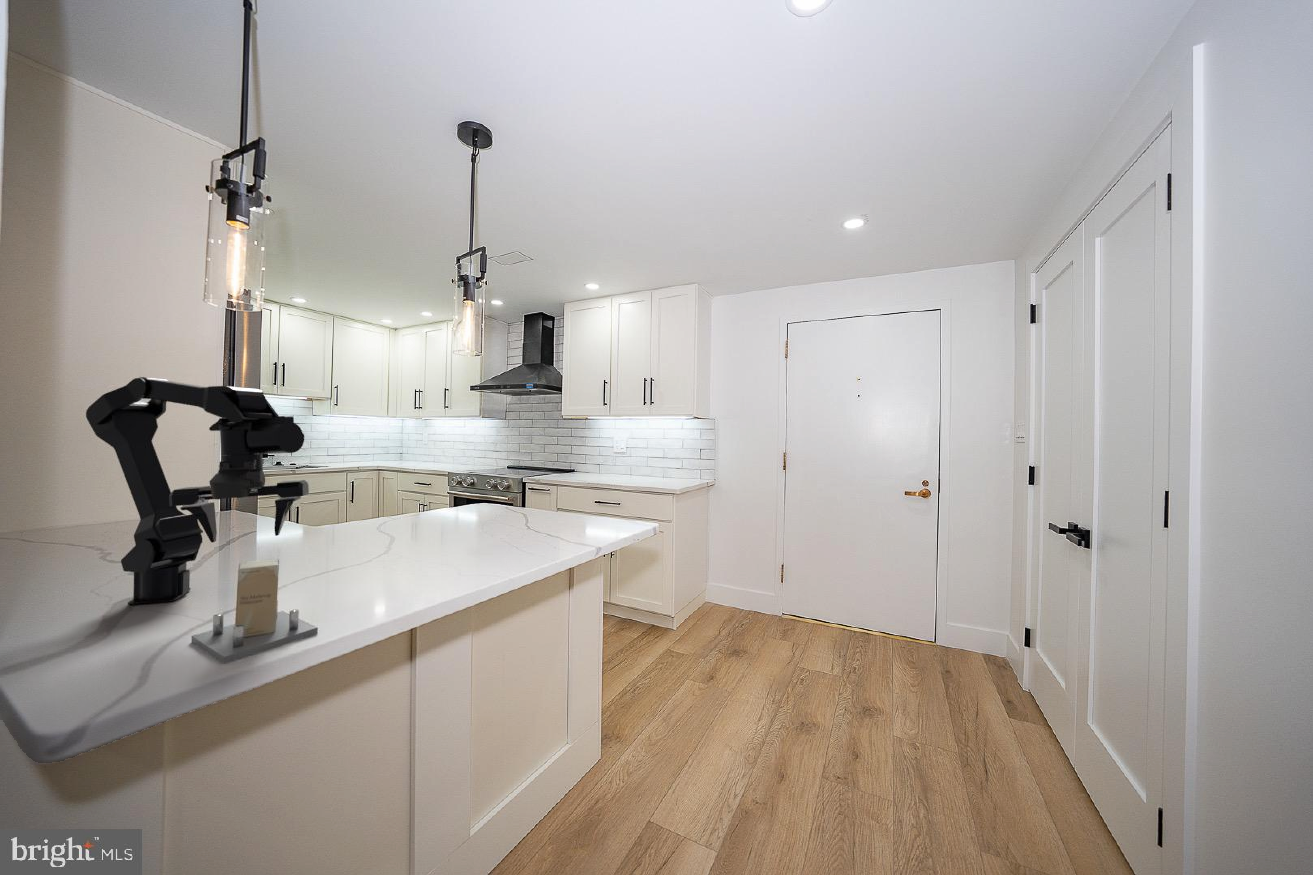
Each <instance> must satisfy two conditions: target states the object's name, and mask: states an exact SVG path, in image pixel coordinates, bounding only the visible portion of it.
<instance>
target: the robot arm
mask: <svg viewBox="0 0 1313 875" xmlns="http://www.w3.org/2000/svg"><path fill="white" fill-rule="evenodd" d="M266 398H267V397H266V396H265V395H264V392H263V391H262V390H261V389H259V388H253V387H240V386H230V385H227V386H226V385H214V386H213V385H211V386H209V385H208V386H201V385H197V384H195V385H194V384H190V383H189V384H188V383H182V382H176V381H170V380H168V379H166V378H159V377H158V378H156V377H146V376H145V377H144V376H139V377H135V378H133V379H132V380H130V381H129V382H128V383H127V384H126V385H123V386H122V387H119V388H116V389H114V390H111V391H108V392H106V393H104V394H102V395H101V396H100V397H98V398H97V399H96V400H95V401H94V402H93V403H92V404H90V405H89V406H88V408H87V409H86V412H85V417H86V419H87V421H88V424H89V426H90V427H91V429H92V431H93V432H94V434H95V435H96V436H97V438H98V439H100V440H102V441H104V443H106V444H108V445H109V446H110V447H112V448H113V449H114V451H115V454H116V457H117V459H118V462H119V464H120V465H119V466H120V468H121V470H122V473H123V477H125V481H126V484H127V487H128V488H129V492H130V494H131V496H132V499H133V502H134V506H135V507H136V509H137V510H136V511H137V513H138V516H139V519H140V520H139V522H138V525H137V528H136V529H135V532H134V534H133V538H134V539H133V540H134V543H135V545H134V546H133V547H132V548H131V550H130V551H128V552H127V553H126V554H125V555H124V556H123V558H122V559H120V563H121V567H122V570H123V572H128V573H133V597H132V599H130V600H129V601H127V605H128V606H131V605H132V606H133V605H144V604H155V603H156V604H157V603H166V602H170V603H171V602H174V601H176V600H178V599H179V598H181V597H182V596H184V595H186V594H187V593H188V592H189V591H191V587H190V580H191V579H190V578H191V577H190V576H191V571H190V569H187V563H188V562H194V561H196V559H197V556H198V554H199V550H200V548H201V545H202V544H203V536H202V534H203V533H204V532H205V534H206V536H207V538H208V539H209V542H211V543H216V541H217V537H218V536H217V533H218V532H217V522H216V521H217V520H216V508H215V502H213V501H212V502H209V501H210V500H223V499H233V498H234V499H235V498H236V499H243V498H247V497H248V498H249V497H260V496H261V497H262V496H275V495H276V496H278V499H275V500H274V504H275V505H274V506H275V518H274V536H279V535H280V533H281V531H282V528H283V526H284V523H285V521H286V517H287V515H288V513H289V511H290V509H291V507H292V505H293V504H294V502H296V501H298V500H300V499H301V498H302V497H303V496H307V495H308V494H309V493H310V491H309V490H310V488H309V482H307V481H306V480H305V479H300V480H296V479H295V480H282V481H280V482H277V483H276V485H265V484H266V478H265V473H264V464H265V463H264V462H265V461H264V458H263V454H264V455H267V454H268V455H270V454H271V455H272V454H293V453H296V452H298V451H299V450H300V449H302V447H303V446H304V442H305V433H304V432H303V430H302V428H301V427H300V425H298V424H297V423H295V420H294V416H291V415H281V416H280V415H279V414H278V413H277V412H276V410H275V409H274V408H273V406H272V405H271V404H270V402H269V401H268V399H266ZM142 399H145V400H149V401H147V402H145V401H141V400H142ZM167 403H174V404H181V405H187V406H192V407H197V408H201V409H203V411H204V412H206V413H208V414H210V415H212V416H213V415H214V416H216V417H219V419H218V420H217V421H216V422H215V423H213V424H212V425H210V426H209V429H208V430H209V431H211V432H219V433H220V434H219V436H220V437H219V438H220V439H219V440H220V456H221V458H220V459H221V461H219V465H218V467H219V468H218V471H217V473H216V474H215V475H213V477H212V478H211V479H210V480H209V485H205V486H202V485H201V486H189V487H187V486H186V487H183V488H182V487H180V488H176V489H173V490H172V491H171V487H170V486H169V483H168V481H167V478H166V475H165V473H164V469H163V468H162V465H161V461H160V460H159V457H158V454H157V452H156V449H155V447H154V444H153V439H154V437H155V435H156V433H157V431H158V428H159V425H158V420H159V418H160V417H161V416H162V415H164V414H165V413H166V411H167ZM179 506H180V507H179ZM178 507H179V509H178ZM182 511H187V512H189V514H185V513H183V512H182ZM199 524H200V525H201V527H202V528H203V529H202V528H201V527H200V525H199ZM203 530H204V531H203Z"/></svg>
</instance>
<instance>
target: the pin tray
mask: <svg viewBox="0 0 1313 875" xmlns="http://www.w3.org/2000/svg"><path fill="white" fill-rule="evenodd" d="M278 600H279V599H277V612H276V629H275V632H272V633H266V634H260V635H254V636H249V637H244V625H236V626H235V623H233V624H229V625H226V626H224V617H225V616H224V613H218V614H214V615H212V620H213V621H212V629H211V630H207V631H204V632H200V633H197V634H193V635H191V643H192V644H193V645H195V646H197V647H198V648H200V649H201V650H203V651H204V652H205V653H207V654H208V655H210V656H212V657H213V658H215V659H216V660H217V661H219V662H221V663H222V664H224V665H225V664H228V663H231V662H234V661H237V660H240V659H243V658H247V657H249V656H253V655H255V654H258V653H263V652H265V651H267V650H270V649H271V650H272V649H275V648H277V647H280V646H283V645H286V644H289V643H292V642H295V641H298V640H301V639H305V638H307V637H310V636H314V635H317V634H318V633H319V632H318V631H319V630H318V629H319V628H318V626H316V625H313V624H311V623H309V622H307V621H305V620H303V619H301V618H299V617H300V616H299V615H300V611H299V609H292V610H289V613H287V612H286V611H284V610H281V611H278V610H279V609H278V608H279V604H278V603H279V601H278Z"/></svg>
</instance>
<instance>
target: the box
mask: <svg viewBox="0 0 1313 875" xmlns="http://www.w3.org/2000/svg"><path fill="white" fill-rule="evenodd" d="M279 571H280V558H271V559H258V560H251V561H240V562H239V563H238V570H237V585H236V586H237V587H236V602H235V619H234V620H235V622H234V624H235V626H236V625H244V637H249V636H254V635H260V634H266V633H272V632H275V629H276V612H278V611H277V600H278V592H279V591H278V590H279V574H280V573H279Z"/></svg>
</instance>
